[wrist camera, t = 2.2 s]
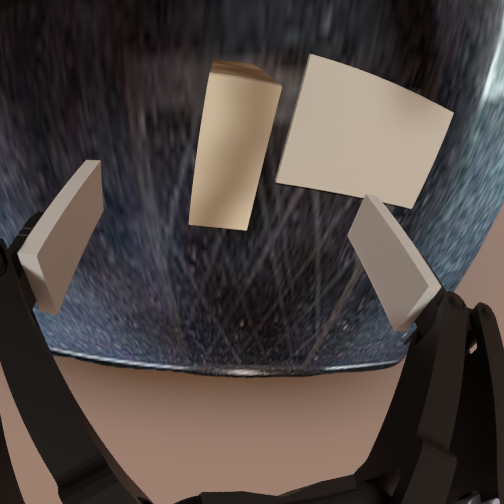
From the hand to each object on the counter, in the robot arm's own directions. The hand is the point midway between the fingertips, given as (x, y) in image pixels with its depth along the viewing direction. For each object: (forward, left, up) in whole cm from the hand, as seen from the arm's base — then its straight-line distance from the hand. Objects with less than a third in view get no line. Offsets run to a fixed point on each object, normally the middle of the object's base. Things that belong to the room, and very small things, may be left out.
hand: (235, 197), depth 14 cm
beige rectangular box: (0, 0, -18) cm, 19 cm away
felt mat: (+17, 0, -18) cm, 25 cm away
